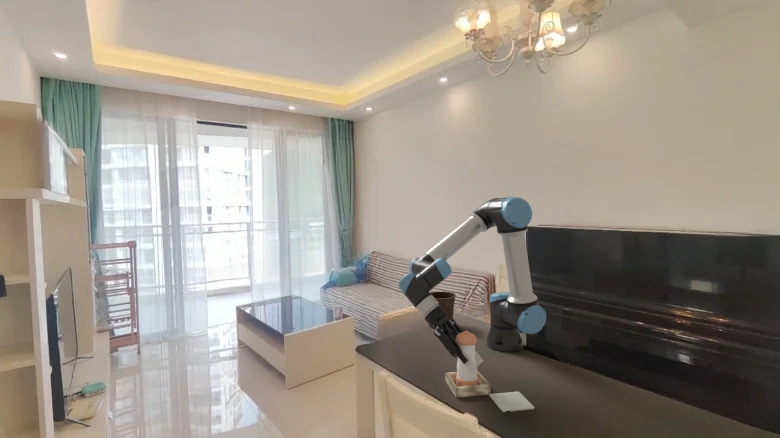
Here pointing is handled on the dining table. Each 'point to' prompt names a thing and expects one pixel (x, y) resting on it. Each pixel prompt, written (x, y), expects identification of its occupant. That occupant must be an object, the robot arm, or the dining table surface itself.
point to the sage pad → (511, 401)
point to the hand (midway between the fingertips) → (477, 366)
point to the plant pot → (445, 302)
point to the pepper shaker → (468, 346)
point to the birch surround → (468, 390)
